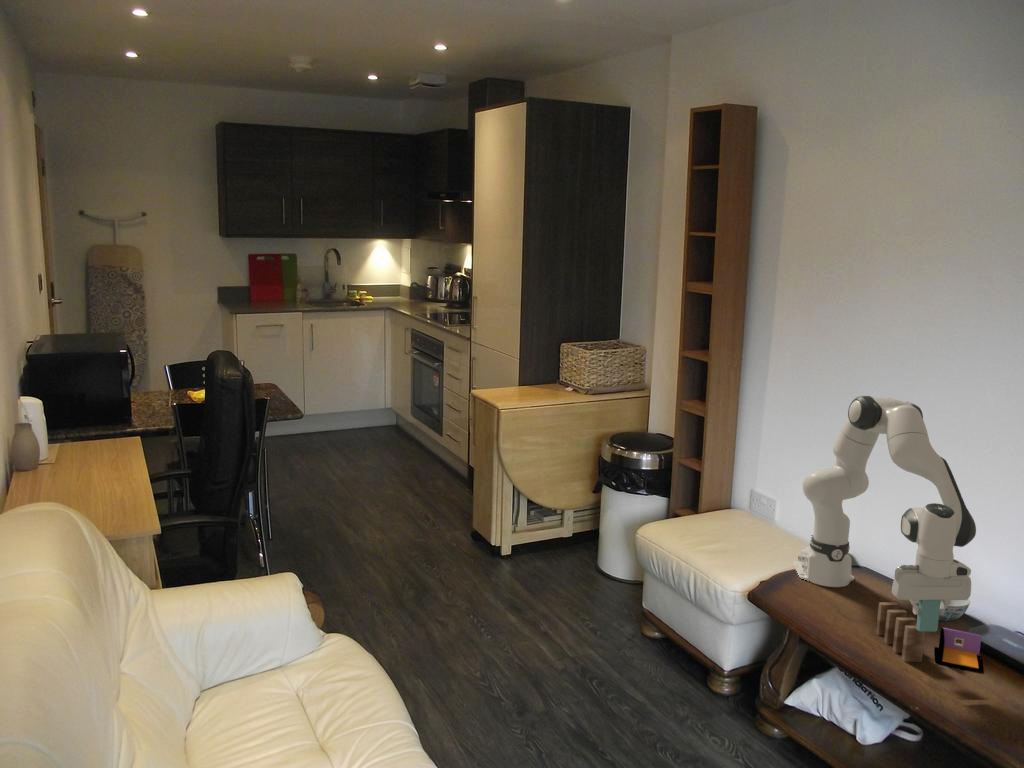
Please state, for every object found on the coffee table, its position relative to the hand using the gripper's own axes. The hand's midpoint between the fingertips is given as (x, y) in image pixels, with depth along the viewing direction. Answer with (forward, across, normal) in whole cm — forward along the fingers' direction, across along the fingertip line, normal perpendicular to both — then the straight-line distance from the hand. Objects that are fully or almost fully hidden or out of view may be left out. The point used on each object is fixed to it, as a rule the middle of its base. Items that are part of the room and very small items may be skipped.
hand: (928, 613), depth 224 cm
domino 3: (+16, 0, +10) cm, 19 cm away
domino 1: (+16, 0, +20) cm, 26 cm away
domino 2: (+16, 0, +15) cm, 22 cm away
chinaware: (+16, +23, +31) cm, 42 cm away
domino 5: (+5, 0, 0) cm, 5 cm away
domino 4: (+16, 0, +5) cm, 17 cm away
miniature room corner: (+17, +14, +6) cm, 22 cm away
